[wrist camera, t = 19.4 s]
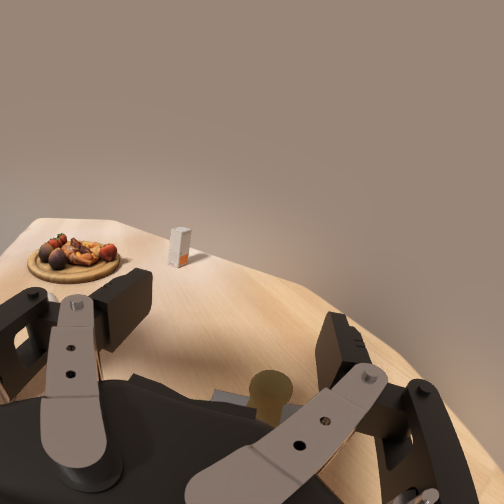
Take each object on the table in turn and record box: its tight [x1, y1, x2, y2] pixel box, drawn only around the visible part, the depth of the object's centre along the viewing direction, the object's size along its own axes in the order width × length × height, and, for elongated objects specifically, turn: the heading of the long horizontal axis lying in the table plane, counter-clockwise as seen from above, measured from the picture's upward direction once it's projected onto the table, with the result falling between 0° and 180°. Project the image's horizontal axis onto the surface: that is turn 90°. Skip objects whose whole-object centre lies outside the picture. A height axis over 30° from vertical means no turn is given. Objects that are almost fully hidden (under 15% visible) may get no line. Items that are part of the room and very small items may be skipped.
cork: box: [246, 370, 293, 428], centre depth 31 cm, size 6×6×11 cm
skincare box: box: [168, 227, 192, 268], centre depth 87 cm, size 6×4×12 cm
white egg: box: [48, 293, 59, 303], centre depth 44 cm, size 8×6×6 cm
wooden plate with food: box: [27, 233, 120, 284], centre depth 72 cm, size 32×32×8 cm
